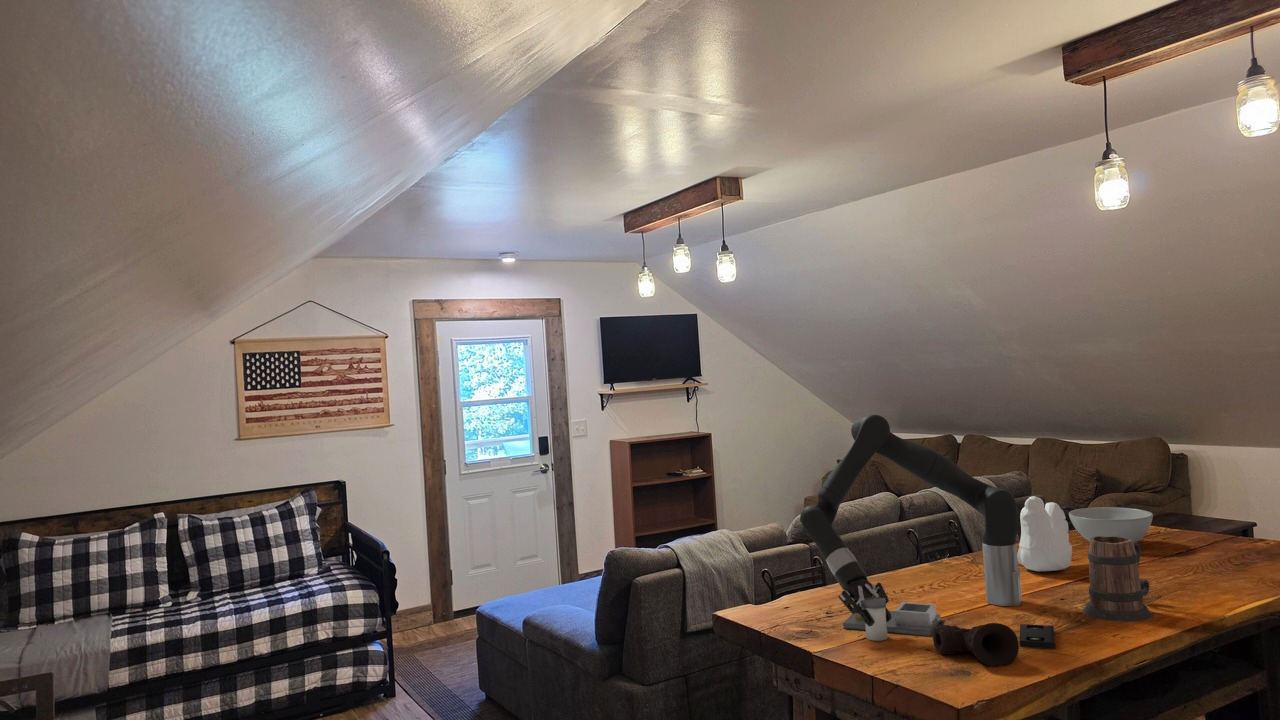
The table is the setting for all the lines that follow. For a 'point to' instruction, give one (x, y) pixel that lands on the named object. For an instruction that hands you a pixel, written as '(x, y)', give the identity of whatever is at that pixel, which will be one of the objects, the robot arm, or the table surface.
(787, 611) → the table surface
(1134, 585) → the tankard
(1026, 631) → the vhs tape
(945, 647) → the pipe
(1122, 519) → the decorative bowl
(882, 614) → the grey and white cylinder
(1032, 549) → the white figurine
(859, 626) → the plate
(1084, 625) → the table surface
